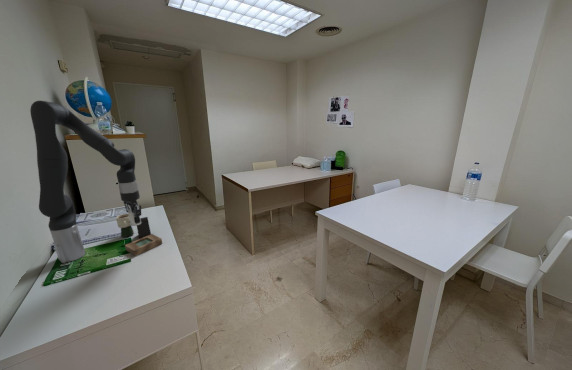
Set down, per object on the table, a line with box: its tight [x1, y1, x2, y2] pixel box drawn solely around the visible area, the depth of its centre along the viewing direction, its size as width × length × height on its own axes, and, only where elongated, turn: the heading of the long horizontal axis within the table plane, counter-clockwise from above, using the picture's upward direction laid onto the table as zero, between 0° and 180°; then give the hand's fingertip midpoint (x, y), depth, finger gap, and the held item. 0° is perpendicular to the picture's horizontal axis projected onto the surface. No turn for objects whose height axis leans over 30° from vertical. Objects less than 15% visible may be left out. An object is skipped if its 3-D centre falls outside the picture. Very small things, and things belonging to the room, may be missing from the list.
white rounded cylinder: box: [127, 209, 142, 227], centre depth 108 cm, size 5×5×8 cm
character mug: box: [115, 213, 135, 238], centre depth 127 cm, size 11×7×13 cm, turn 38°
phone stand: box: [136, 216, 152, 239], centre depth 126 cm, size 9×6×12 cm, turn 37°
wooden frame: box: [124, 233, 163, 257], centre depth 116 cm, size 14×10×3 cm
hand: (135, 221), depth 108 cm, fingers closed on white rounded cylinder, 4 cm apart
